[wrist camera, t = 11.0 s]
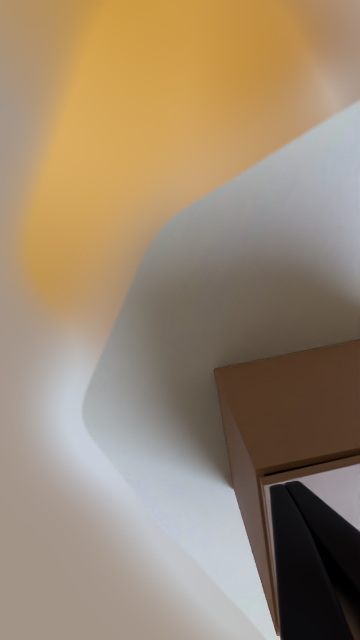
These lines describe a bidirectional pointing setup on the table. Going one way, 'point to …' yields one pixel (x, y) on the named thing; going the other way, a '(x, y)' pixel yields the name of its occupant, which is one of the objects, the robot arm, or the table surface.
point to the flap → (319, 494)
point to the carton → (286, 427)
